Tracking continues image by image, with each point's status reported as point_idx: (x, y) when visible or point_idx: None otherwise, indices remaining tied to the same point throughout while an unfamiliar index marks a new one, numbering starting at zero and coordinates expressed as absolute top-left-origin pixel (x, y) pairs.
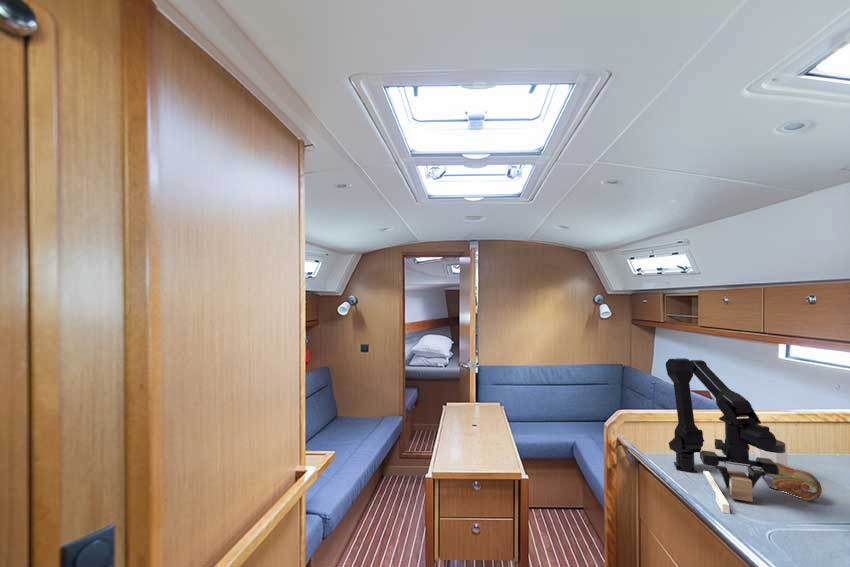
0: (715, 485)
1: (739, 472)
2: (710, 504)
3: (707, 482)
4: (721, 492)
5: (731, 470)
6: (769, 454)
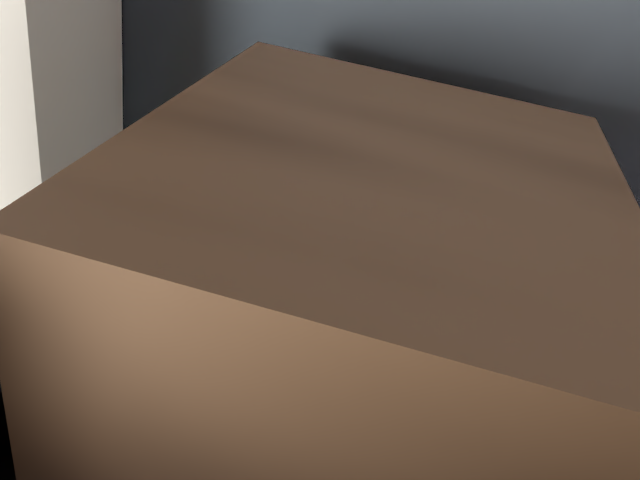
0: (13, 197)
1: (457, 465)
2: None
3: None
4: None
5: (198, 314)
6: None
